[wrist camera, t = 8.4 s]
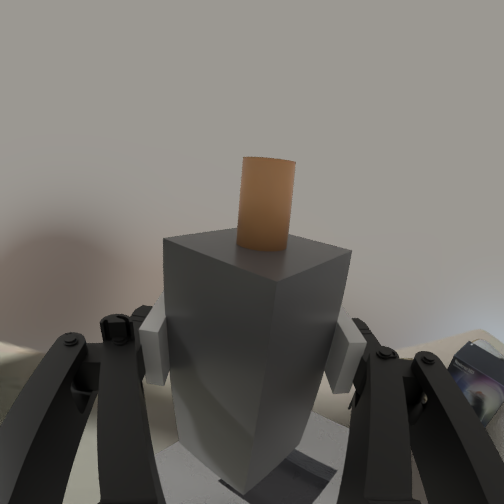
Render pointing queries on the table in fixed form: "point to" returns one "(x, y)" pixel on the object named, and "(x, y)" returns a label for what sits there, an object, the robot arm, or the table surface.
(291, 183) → the plug
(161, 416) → the table surface
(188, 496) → the socket
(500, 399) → the small box
